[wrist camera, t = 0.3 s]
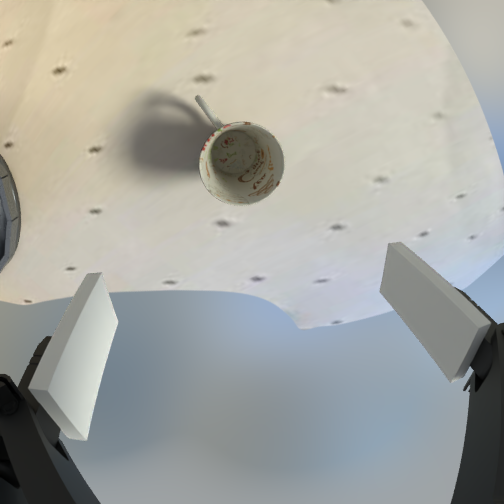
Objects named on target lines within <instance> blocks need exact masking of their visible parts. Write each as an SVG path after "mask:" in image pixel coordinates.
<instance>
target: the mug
mask: <svg viewBox="0 0 504 504" xmlns="http://www.w3.org/2000/svg"><path fill="white" fill-rule="evenodd" d="M195 100H196V102H197V103H198V104H199V106H200V107H201V108H202V110H203V111H204V112H205V114H206V115H207V116H208V118H209V119H210V120H211V122H212V123H213V124H214V126H215V127H216V128H217V130H216V131H215V132H214V133H213V134H212V135H211V136H210V137H209V138H208V139H207V140H206V142H205V144H204V145H203V147H202V150H201V153H200V157H199V173H200V177H201V179H202V182H203V184H204V186H205V187H206V189H207V190H208V191H209V192H210V193H211V194H212V195H213V196H214V197H215V198H217V199H218V200H220V201H222V202H224V203H227V204H230V205H235V206H247V205H252V204H255V203H258V202H260V201H262V200H264V199H266V198H267V197H268V196H270V195H271V194H272V193H273V192H274V191H275V190H276V188H277V187H278V185H279V184H280V182H281V180H282V177H283V174H284V170H285V156H284V152H283V149H282V146H281V144H280V143H279V141H278V139H277V138H276V137H275V136H274V135H273V134H272V133H271V132H270V131H269V130H267V129H266V128H264V127H262V126H260V125H258V124H255V123H250V122H235V123H231V124H227V125H225V126H223V124H222V123H221V122H220V120H219V119H218V118H217V116H216V115H215V113H214V111H213V110H212V109H211V108H210V107H209V106H208V105H207V103H206V102H205V101H204V100H203V98H202V97H201V96H199V95H197V96H196V97H195Z"/></svg>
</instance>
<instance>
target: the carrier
mask: <svg viewBox="0 0 504 504" xmlns="http://www.w3.org/2000/svg"><path fill="white" fill-rule="evenodd" d="M20 228H21V212H20V203H19V198H18V193H17V189H16V186H15V182H14V180H13V177H12V174H11V172H10V170H9V168H8V165H7V164H6V162H5V160H4V159H3V157H2V156H1V154H0V273H1V272H2V270H3V269H4V267H5V266H6V265H7V264H8V263H9V261H10V260H11V259H12V257H13V255H14V254H15V251H16V249H17V245H18V242H19V237H20Z"/></svg>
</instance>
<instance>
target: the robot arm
mask: <svg viewBox="0 0 504 504" xmlns="http://www.w3.org/2000/svg"><path fill="white" fill-rule="evenodd" d="M380 293H381V294H382V295H383V296H384V298H385V299H386V300H387V301H388V303H389V304H390V305H391V306H392V307H393V309H394V310H395V311H396V312H397V314H398V315H399V316H400V317H401V318H402V320H403V321H404V322H405V323H406V325H407V326H408V327H409V328H410V330H411V331H412V332H413V333H414V335H415V336H416V337H417V339H418V340H419V341H420V342H421V344H422V345H423V346H424V348H425V349H426V350H427V352H428V353H429V354H430V356H431V357H432V358H433V359H434V361H435V362H436V364H437V365H438V366H439V368H440V369H441V370H442V372H443V373H444V374H445V376H446V377H447V379H448V380H449V381H450V383H452V382H454V381H456V380H458V379H460V378H462V377H464V375H465V374H466V372H467V370H468V368H469V367H470V366H471V368H472V369H473V370H474V371H473V373H472V375H471V376H470V378H469V380H468V381H467V383H466V385H465V386H464V389H463V391H465V390H466V389H467V387H468V386H469V385H470V390H469V392H470V396H469V408H468V419H467V426H466V434H465V441H464V447H463V453H462V459H461V464H460V468H459V473H458V477H457V482H456V486H455V490H454V494H453V498H452V501H451V504H504V323H500V324H497V323H496V322H495V321H494V320H493V319H492V318H491V317H490V316H489V315H488V314H487V313H485V311H484V310H483V309H481V308H480V307H479V306H477V304H476V303H475V302H474V301H472V300H471V298H470V297H469V296H468V295H466V294H465V293H464V292H463V291H461V290H459V289H457V288H455V287H453V286H452V285H451V284H450V283H449V282H448V281H446V280H445V279H444V278H443V277H442V276H441V275H440V274H439V273H437V272H436V271H435V270H434V269H433V268H432V267H430V266H429V265H428V264H427V263H426V262H425V261H423V260H422V259H421V258H420V257H419V256H417V255H416V254H415V253H414V252H413V251H411V250H410V249H409V248H408V247H406V246H405V245H404V244H403V243H401V242H396V243H388V248H387V255H386V261H385V266H384V272H383V277H382V282H381V287H380ZM117 324H118V320H117V317H116V314H115V311H114V308H113V305H112V302H111V299H110V296H109V293H108V290H107V287H106V284H105V280H104V277H103V274H102V272H101V273H90V274H87V275H86V277H85V278H84V280H83V282H82V283H81V285H80V287H79V288H78V290H77V292H76V294H75V295H74V297H73V299H72V301H71V302H70V304H69V306H68V308H67V309H66V311H65V313H64V315H63V317H62V319H61V320H60V322H59V324H58V326H57V328H56V330H55V332H54V334H53V336H47V337H45V338H44V339H43V341H42V342H41V343H40V344H39V345H38V346H37V348H36V350H35V352H34V354H33V357H32V358H31V360H30V362H29V363H30V364H29V365H28V366H27V368H26V370H25V373H24V375H23V377H22V379H21V381H20V383H19V386H18V388H17V386H16V385H15V384H14V382H13V381H12V379H11V378H10V376H8V375H6V374H0V504H100V502H99V501H98V499H97V498H96V496H95V495H94V494H93V492H92V490H91V489H90V487H89V486H88V485H87V483H86V481H85V480H84V478H83V477H82V475H81V474H80V472H79V470H78V469H77V467H76V465H75V464H74V462H73V460H72V459H71V457H70V455H69V453H68V452H67V450H66V448H65V446H64V444H63V443H62V441H61V440H60V439H59V433H60V430H62V432H63V433H64V434H65V435H66V436H67V437H68V438H70V439H77V440H87V437H88V432H89V427H90V423H91V418H92V414H93V409H94V406H95V401H96V397H97V393H98V390H99V385H100V382H101V378H102V374H103V371H104V367H105V363H106V360H107V357H108V353H109V350H110V347H111V343H112V340H113V337H114V334H115V331H116V328H117Z"/></svg>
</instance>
